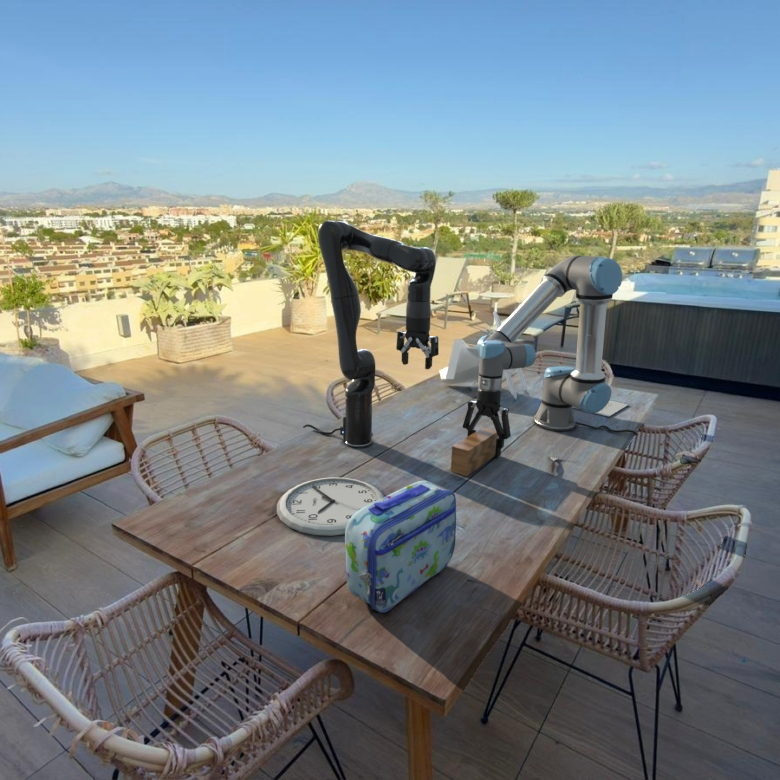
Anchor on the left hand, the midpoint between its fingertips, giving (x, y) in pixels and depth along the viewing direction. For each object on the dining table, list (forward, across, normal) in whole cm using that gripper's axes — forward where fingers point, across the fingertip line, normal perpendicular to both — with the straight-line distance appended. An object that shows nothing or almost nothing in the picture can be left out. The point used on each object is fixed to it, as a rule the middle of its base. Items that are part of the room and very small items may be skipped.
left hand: (416, 366), depth 165 cm
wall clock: (+31, 0, -40) cm, 51 cm away
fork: (+31, +39, +24) cm, 55 cm away
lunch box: (+31, +35, -55) cm, 72 cm away
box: (+31, +18, +9) cm, 37 cm away
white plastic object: (+31, -16, +78) cm, 86 cm away
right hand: (+30, +18, +16) cm, 38 cm away
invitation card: (+31, +34, +94) cm, 105 cm away
